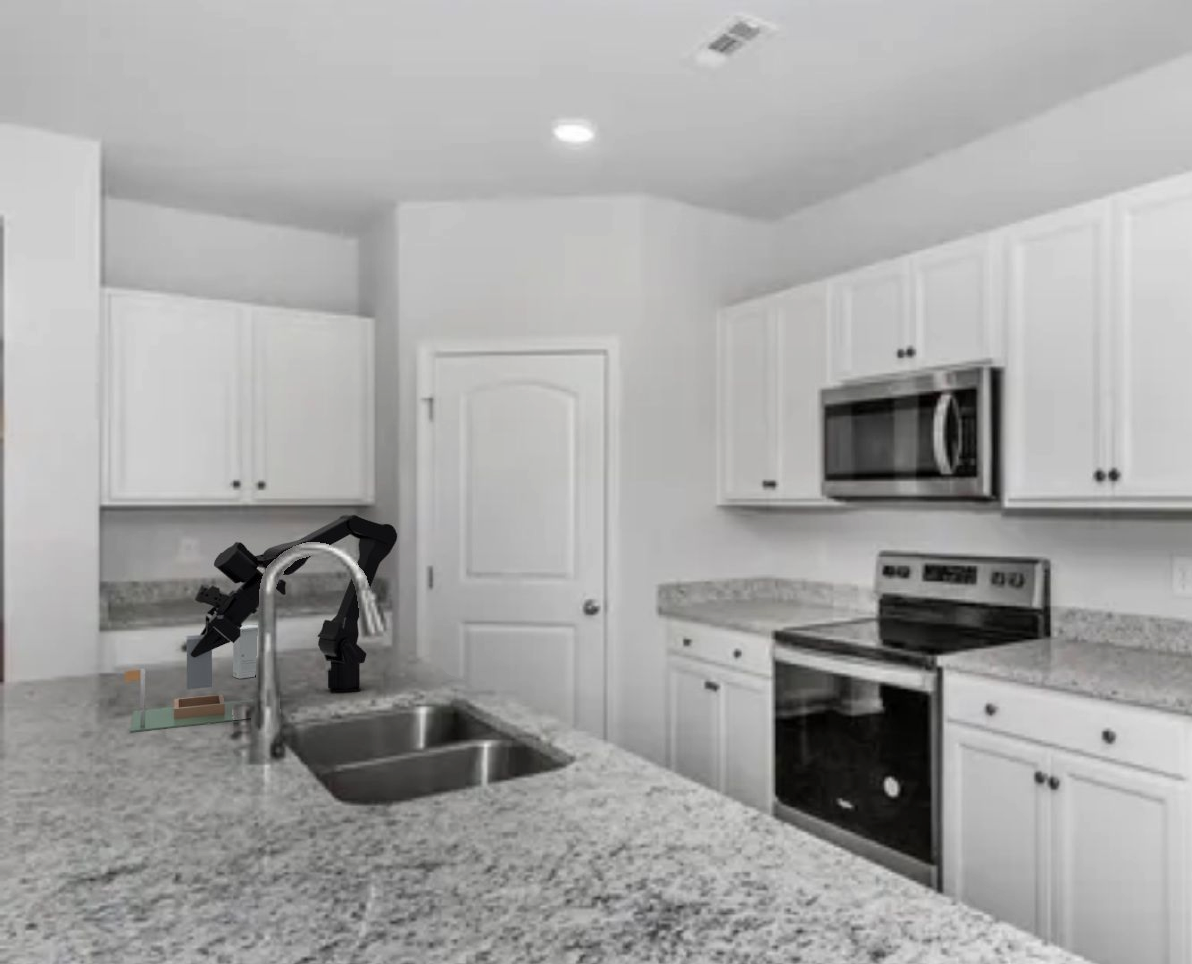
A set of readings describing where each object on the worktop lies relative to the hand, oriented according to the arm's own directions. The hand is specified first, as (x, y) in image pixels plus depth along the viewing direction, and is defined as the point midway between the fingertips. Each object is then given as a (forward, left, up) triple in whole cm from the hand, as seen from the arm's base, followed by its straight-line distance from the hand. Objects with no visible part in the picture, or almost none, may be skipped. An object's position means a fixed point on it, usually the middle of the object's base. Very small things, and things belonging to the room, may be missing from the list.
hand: (191, 653), depth 179 cm
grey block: (-1, 0, -7) cm, 7 cm away
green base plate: (-1, +2, -12) cm, 12 cm away
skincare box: (-8, -34, -12) cm, 37 cm away
